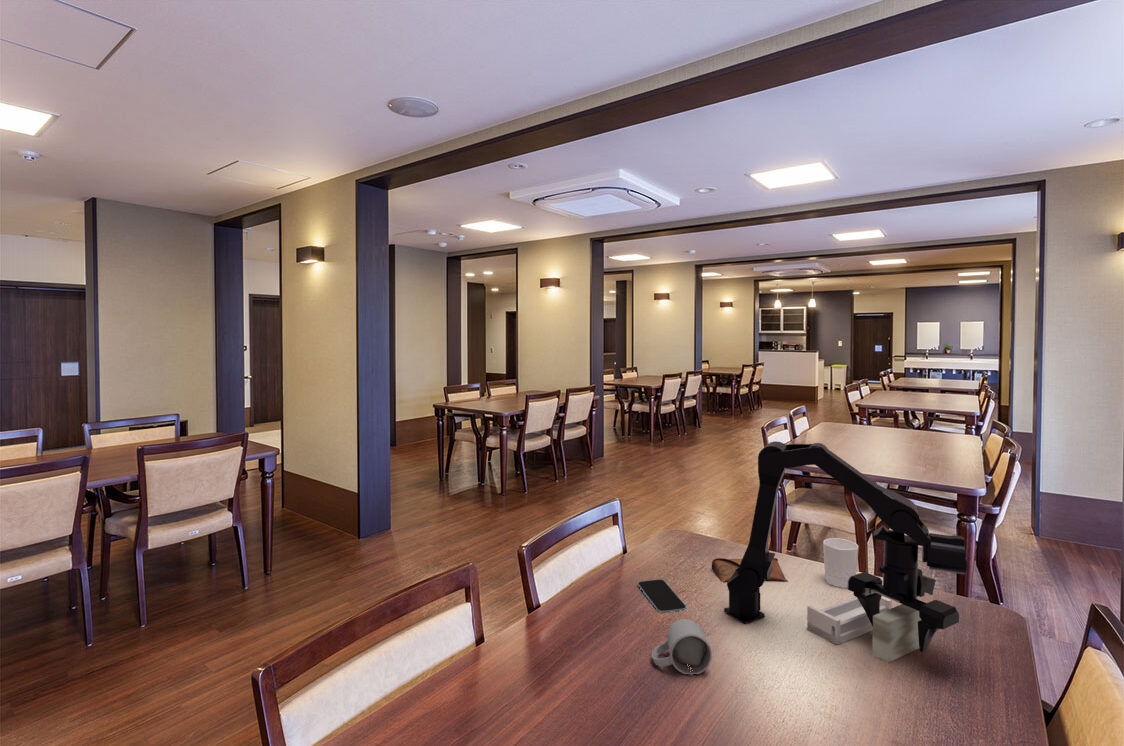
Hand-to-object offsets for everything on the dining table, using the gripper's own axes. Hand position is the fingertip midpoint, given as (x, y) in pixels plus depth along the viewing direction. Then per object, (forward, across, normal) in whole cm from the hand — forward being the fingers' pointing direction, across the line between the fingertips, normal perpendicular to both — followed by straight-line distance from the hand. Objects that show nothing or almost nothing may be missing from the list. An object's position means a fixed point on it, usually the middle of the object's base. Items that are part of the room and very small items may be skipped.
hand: (898, 640), depth 108 cm
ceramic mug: (+2, +17, +40) cm, 44 cm away
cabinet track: (+2, +10, 0) cm, 11 cm away
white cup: (+2, +25, -17) cm, 30 cm away
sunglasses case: (+3, +39, 0) cm, 39 cm away
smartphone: (+3, +41, +27) cm, 49 cm away
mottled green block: (+2, 0, 0) cm, 2 cm away
